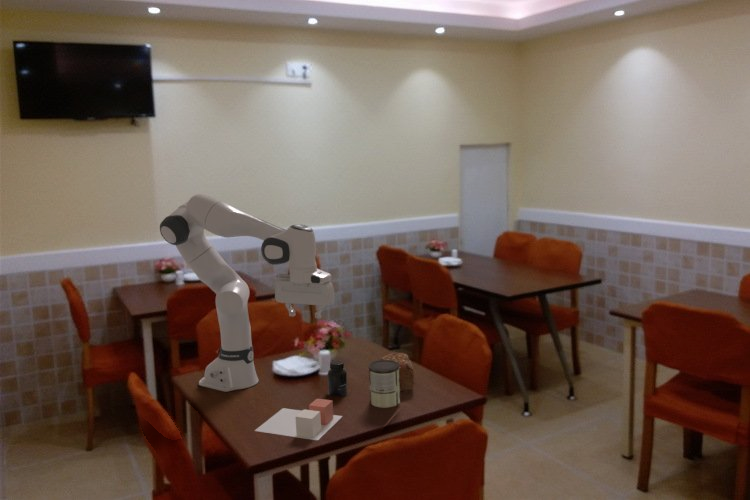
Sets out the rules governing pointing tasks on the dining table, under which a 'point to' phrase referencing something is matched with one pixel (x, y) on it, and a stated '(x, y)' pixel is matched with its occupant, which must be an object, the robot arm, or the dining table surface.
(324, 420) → the salmon red cube
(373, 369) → the coffee can
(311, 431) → the pale grey cube
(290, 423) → the plate
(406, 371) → the bread
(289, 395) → the dining table surface
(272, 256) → the robot arm
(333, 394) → the supplement bottle
